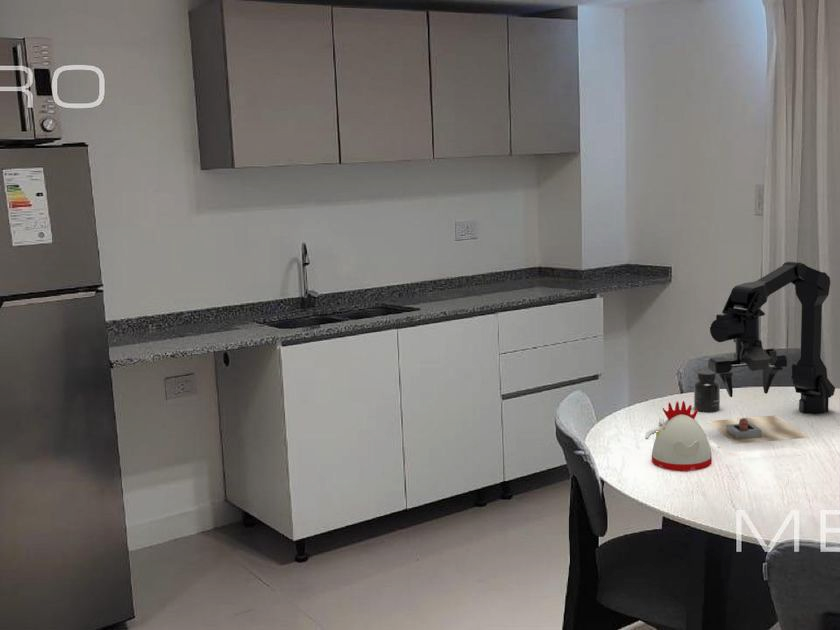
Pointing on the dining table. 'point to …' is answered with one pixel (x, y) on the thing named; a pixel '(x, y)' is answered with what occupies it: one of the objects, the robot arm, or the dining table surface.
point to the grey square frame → (744, 431)
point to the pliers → (654, 429)
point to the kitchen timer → (681, 442)
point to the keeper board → (769, 425)
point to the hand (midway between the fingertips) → (748, 395)
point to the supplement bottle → (707, 392)
